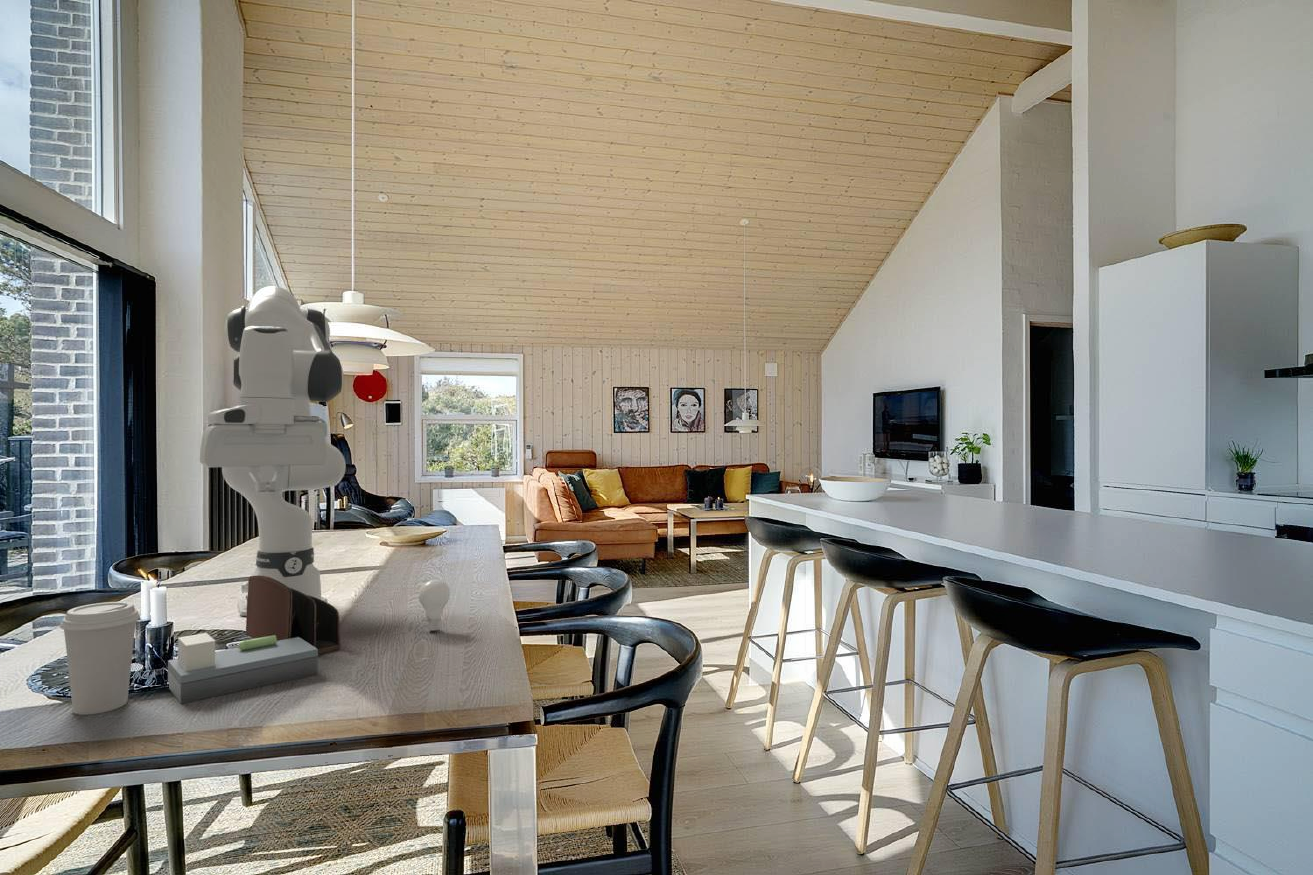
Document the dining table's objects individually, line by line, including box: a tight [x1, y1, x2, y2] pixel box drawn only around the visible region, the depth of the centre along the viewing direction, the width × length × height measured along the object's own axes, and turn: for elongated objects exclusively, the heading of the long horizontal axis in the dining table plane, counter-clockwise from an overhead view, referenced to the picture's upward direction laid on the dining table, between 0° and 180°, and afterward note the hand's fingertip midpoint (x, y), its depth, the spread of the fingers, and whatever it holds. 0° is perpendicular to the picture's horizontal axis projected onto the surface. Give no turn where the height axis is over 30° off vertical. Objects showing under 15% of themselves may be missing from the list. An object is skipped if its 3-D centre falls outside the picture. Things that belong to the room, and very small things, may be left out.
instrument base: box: [167, 655, 319, 705], centre depth 119 cm, size 10×20×3 cm, turn 134°
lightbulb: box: [418, 578, 451, 633], centre depth 149 cm, size 6×6×11 cm
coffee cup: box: [59, 601, 141, 716], centre depth 107 cm, size 10×10×15 cm
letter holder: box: [245, 575, 341, 656], centre depth 138 cm, size 10×20×14 cm, turn 50°
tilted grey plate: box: [167, 632, 319, 684], centre depth 119 cm, size 10×20×5 cm, turn 134°
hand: (266, 491), depth 127 cm, fingers closed
